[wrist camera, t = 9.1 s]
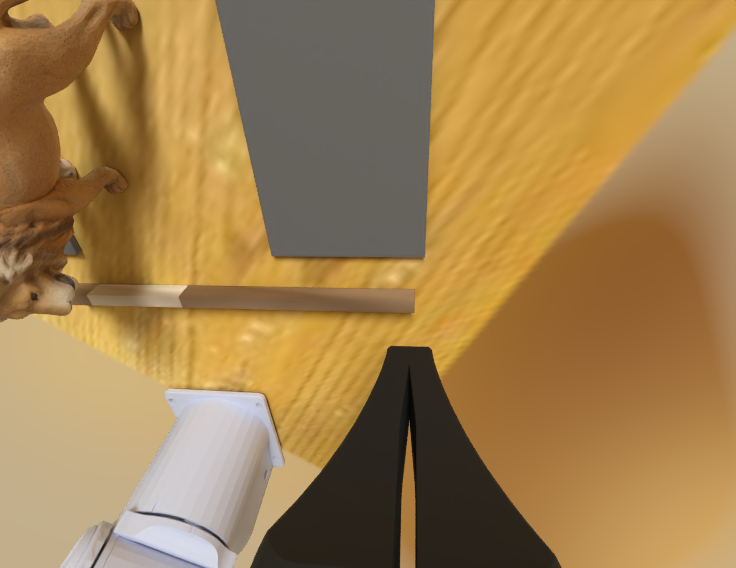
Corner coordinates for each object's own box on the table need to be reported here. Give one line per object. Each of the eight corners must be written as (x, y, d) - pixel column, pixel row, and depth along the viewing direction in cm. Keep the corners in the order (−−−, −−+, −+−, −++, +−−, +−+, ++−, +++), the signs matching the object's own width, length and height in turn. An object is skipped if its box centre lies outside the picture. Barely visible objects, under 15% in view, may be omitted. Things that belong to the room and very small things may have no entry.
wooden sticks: (414, 300, 23) (414, 313, 22) (84, 293, 25) (70, 304, 24) (424, -155, 12) (425, -169, 11) (-139, -93, 15) (-178, -101, 14)
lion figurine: (154, 255, 23) (32, 368, 16) (63, 229, 23) (-106, 332, 15) (140, -60, 15) (-137, -136, 7) (-5, -111, 14) (-456, -248, 7)
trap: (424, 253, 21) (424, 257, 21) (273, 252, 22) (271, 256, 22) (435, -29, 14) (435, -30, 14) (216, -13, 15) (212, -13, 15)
